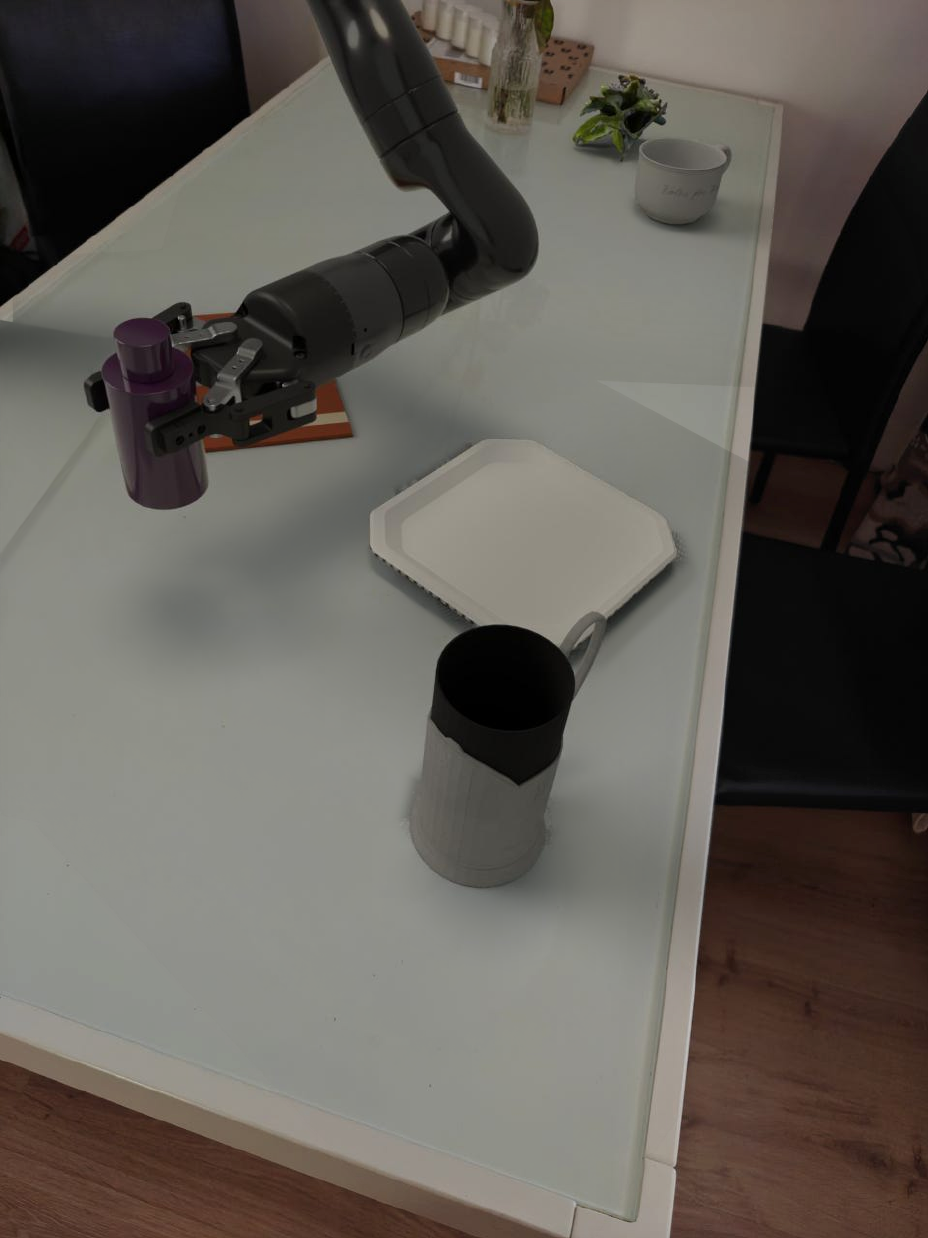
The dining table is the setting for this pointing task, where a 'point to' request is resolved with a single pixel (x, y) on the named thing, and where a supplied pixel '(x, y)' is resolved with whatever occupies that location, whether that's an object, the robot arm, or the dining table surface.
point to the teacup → (679, 177)
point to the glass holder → (495, 749)
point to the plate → (521, 539)
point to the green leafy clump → (621, 113)
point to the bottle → (152, 414)
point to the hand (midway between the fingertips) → (119, 419)
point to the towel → (324, 427)
